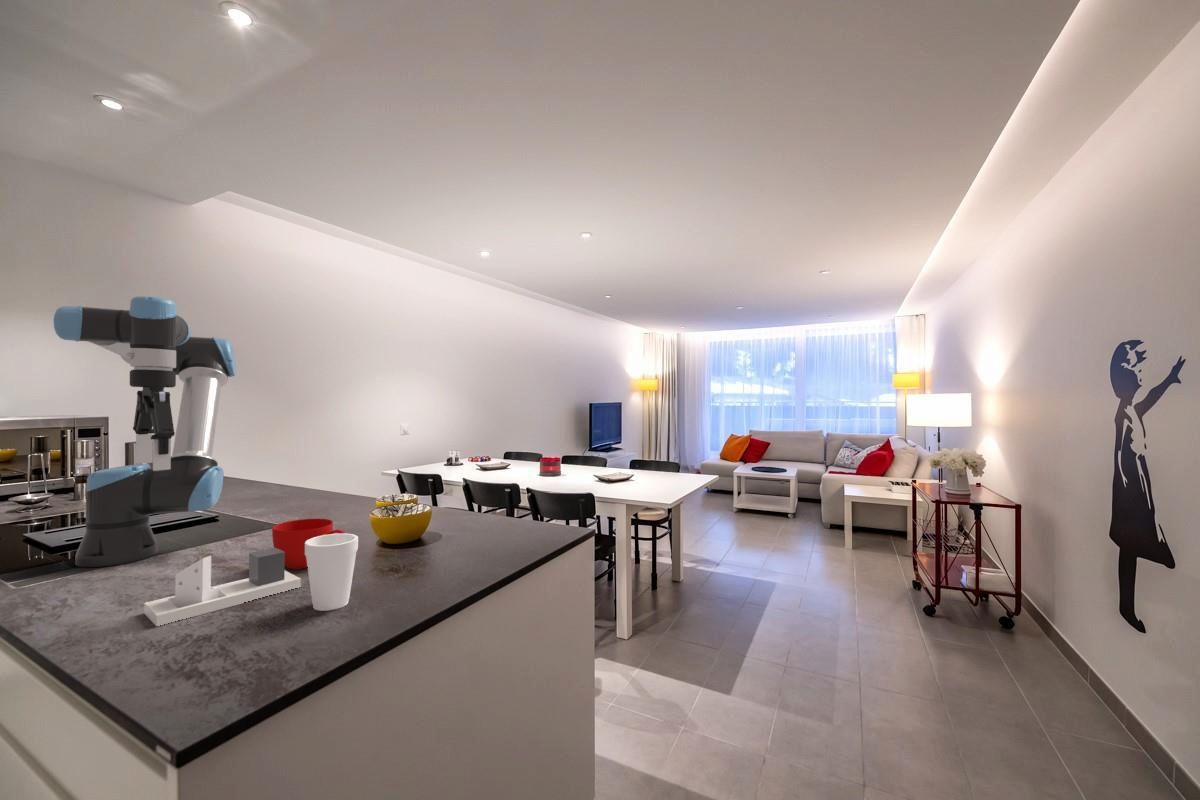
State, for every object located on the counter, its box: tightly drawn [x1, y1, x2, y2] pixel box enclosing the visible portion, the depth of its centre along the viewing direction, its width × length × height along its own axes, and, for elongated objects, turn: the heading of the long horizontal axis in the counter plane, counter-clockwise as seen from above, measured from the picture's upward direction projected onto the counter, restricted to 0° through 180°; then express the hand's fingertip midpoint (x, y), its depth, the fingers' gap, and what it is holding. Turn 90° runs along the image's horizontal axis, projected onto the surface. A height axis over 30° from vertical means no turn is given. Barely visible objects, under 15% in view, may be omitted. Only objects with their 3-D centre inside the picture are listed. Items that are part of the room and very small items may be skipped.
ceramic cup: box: [271, 518, 345, 570], centre depth 124 cm, size 13×17×10 cm
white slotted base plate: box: [143, 547, 302, 627], centre depth 102 cm, size 9×24×8 cm, turn 143°
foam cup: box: [305, 532, 359, 612], centre depth 101 cm, size 10×9×13 cm
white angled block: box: [174, 555, 219, 608], centre depth 98 cm, size 4×10×9 cm, turn 84°
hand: (152, 466), depth 109 cm, fingers open, 13 cm apart
